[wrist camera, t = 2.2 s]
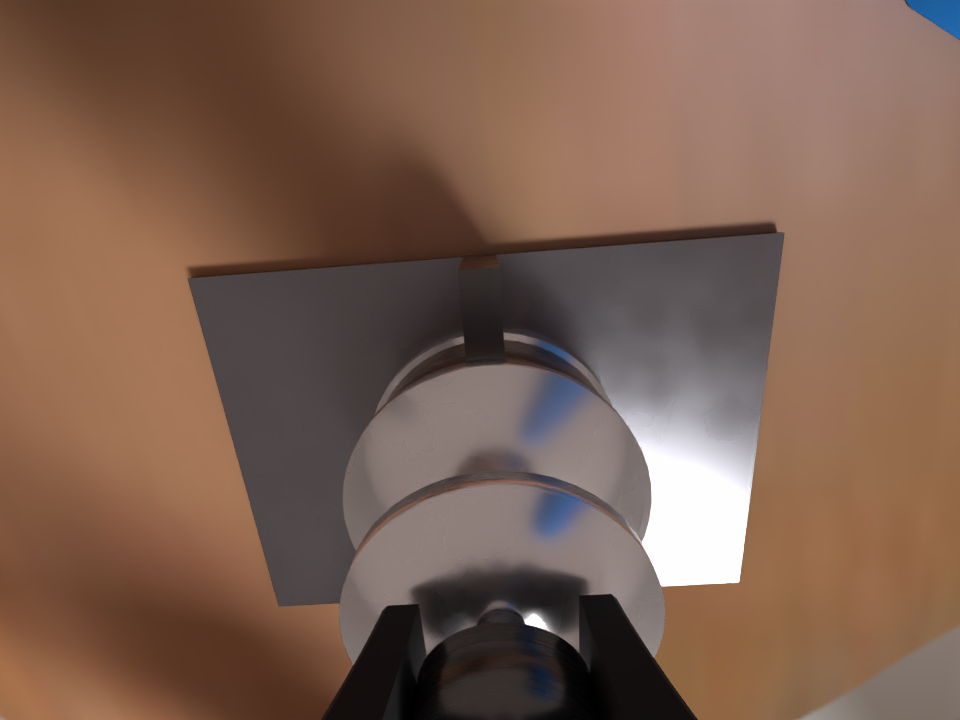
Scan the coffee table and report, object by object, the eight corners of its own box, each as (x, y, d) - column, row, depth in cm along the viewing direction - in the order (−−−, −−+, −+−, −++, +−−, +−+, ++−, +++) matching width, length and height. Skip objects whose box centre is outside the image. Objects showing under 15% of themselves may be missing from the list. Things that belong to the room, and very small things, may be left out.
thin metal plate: (734, 576, 18) (798, 669, 14) (282, 600, 18) (232, 695, 15) (778, 232, 14) (882, 241, 10) (193, 277, 14) (95, 300, 11)
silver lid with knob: (648, 704, 10) (708, 888, 8) (372, 716, 11) (331, 900, 8) (661, 459, 8) (751, 588, 6) (321, 480, 9) (242, 614, 6)
